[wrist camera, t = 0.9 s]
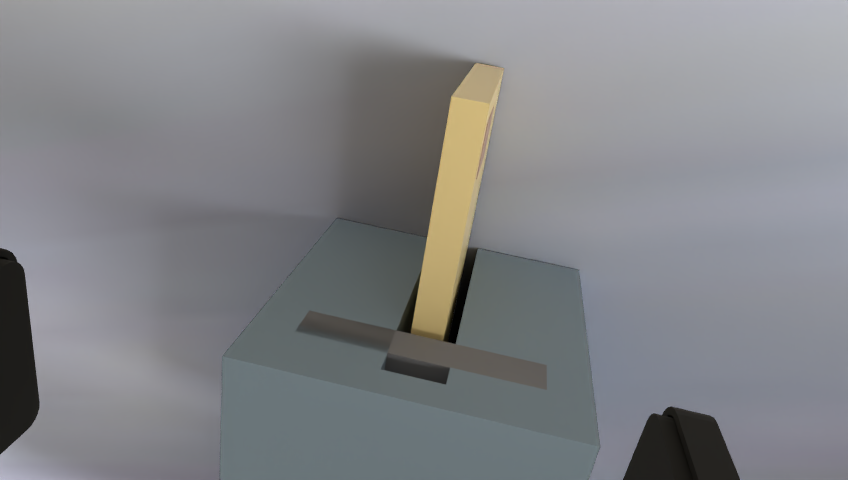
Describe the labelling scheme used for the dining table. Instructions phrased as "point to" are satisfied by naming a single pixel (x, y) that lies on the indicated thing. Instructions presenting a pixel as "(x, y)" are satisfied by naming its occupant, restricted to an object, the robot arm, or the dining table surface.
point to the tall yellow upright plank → (455, 200)
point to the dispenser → (409, 372)
